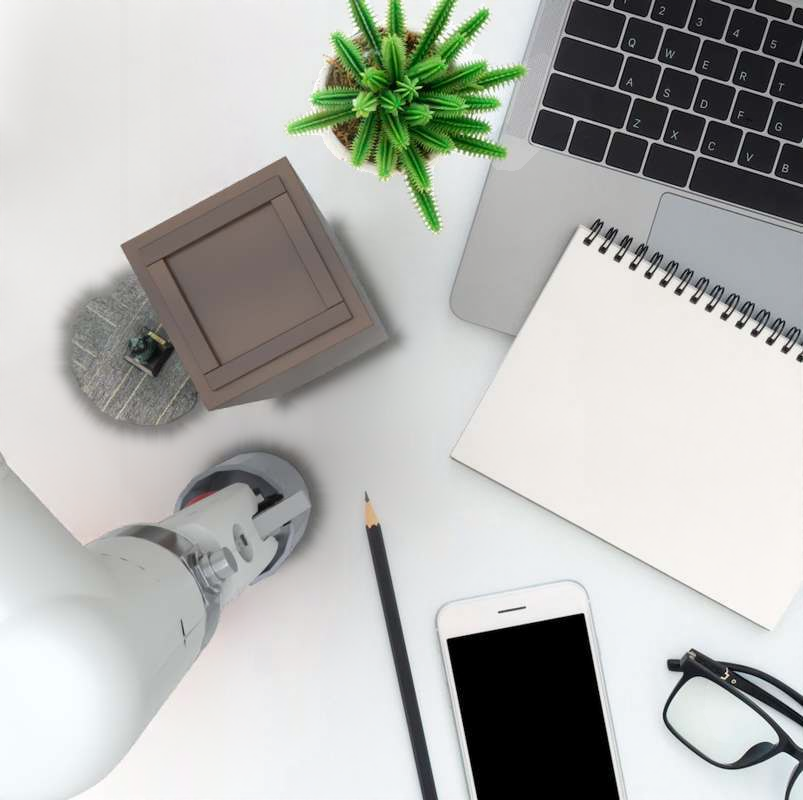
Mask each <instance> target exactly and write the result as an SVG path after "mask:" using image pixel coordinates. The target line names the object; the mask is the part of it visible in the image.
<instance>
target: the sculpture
mask: <svg viewBox="0 0 803 800" xmlns="http://www.w3.org/2000/svg"><path fill="white" fill-rule="evenodd" d="M71 328H72V329H71V354H70V355H71V356H70V357H71V359H70V371H71V372H72V373H73V375H74V377H75V379H76V380H77V381H78V384H79V388H80V389H81V391H82V392H83V394H85V395H86V396H87V397H88V398H89V399H90V400H91V402H92V404H93V405H94V406H95V407H96V408H97V409H99V410H100V412H102V413H104V414H105V415H107V416H108V417H111V418H112V419H114V420H117V421H119V422H123V423H131V424H132V425H142V426H158V425H162V424H163V425H165V424H169V423H171V422H173V421H175V420H176V419H179V418H180V417H181V416H183V415H184V414H185V413H188V412H190V411H191V410H192V409H193V408H194V405H195V404H196V403H197V398H196V395H197V393H198V391H197V389H196V387H195V385H194V384H193V382H192V380H191V378H190V376H189V374H188V372H187V370H186V369H185V367H184V365H183V363H182V361H181V359H180V357H179V355H178V353H177V352H176V350H175V348H174V346H173V344H172V342H171V340H170V338H169V337H168V335H167V333H166V331H165V329H164V327H163V325H162V323H161V321H160V320H159V318H158V316H157V314H156V312H155V310H154V308H153V306H152V305H151V303H150V301H149V299H148V297H147V295H146V293H145V291H144V289H143V288H142V286H141V284H140V282H139V280H138V278H137V277H133V278H130V279H125V280H123V281H122V282H121V283H120V284H118V286H117V287H116V288H115V290H113V292H112V293H111V294H110V296H109V297H107V298H103V297H95V298H93V299H92V300H91V301H89V302H88V303H87V304H86V306H85V307H84V308H83V309H82V311H81V312H80V314H79V316H77V317H76V320H75V323H73V325H72V327H71Z"/></svg>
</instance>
